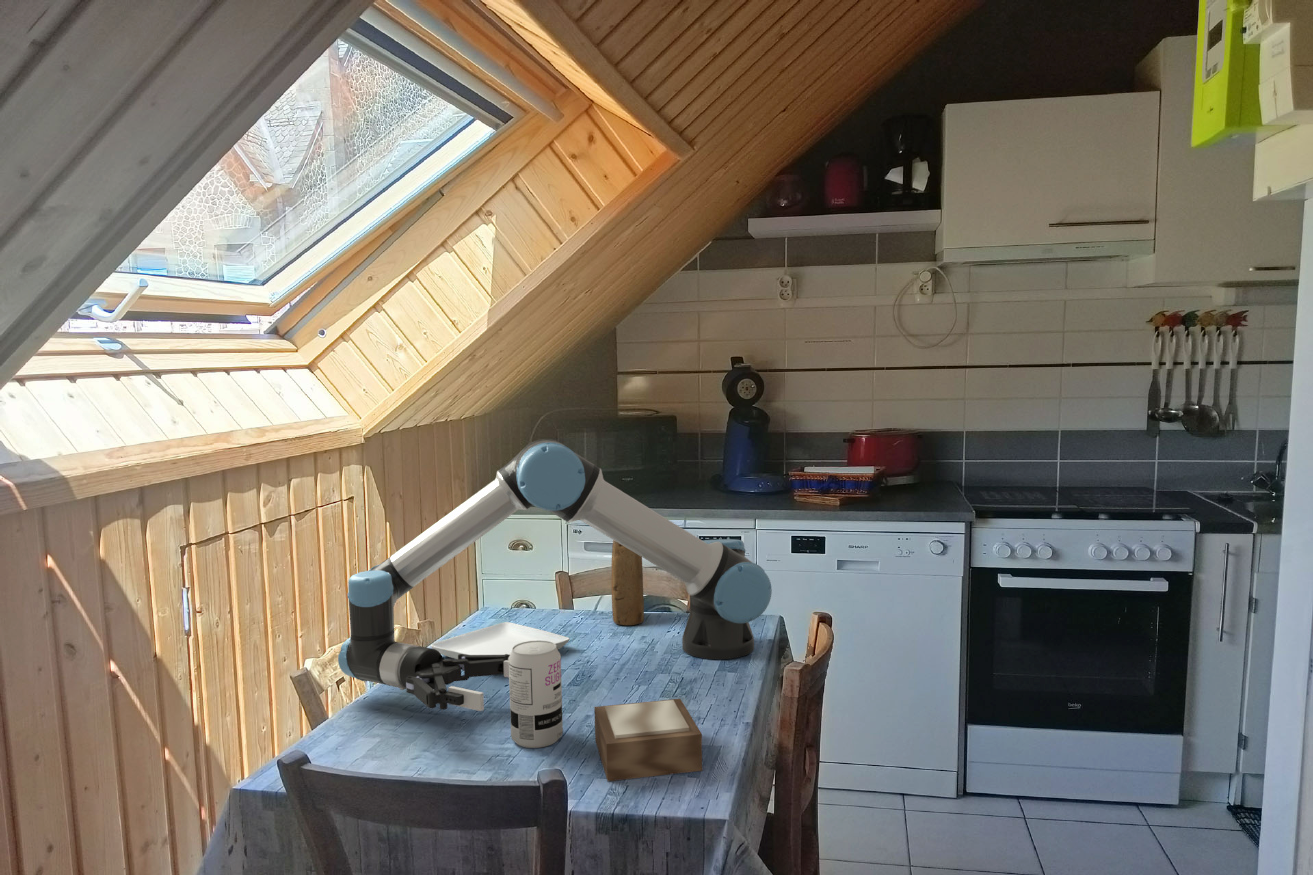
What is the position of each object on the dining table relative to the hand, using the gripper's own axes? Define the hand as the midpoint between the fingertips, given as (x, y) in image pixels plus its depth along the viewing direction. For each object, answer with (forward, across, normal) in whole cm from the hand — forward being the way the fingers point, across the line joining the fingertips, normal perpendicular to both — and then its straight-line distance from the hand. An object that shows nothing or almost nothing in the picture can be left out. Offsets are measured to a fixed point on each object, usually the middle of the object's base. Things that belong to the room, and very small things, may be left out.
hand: (510, 687), depth 138 cm
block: (-16, -63, -8) cm, 66 cm away
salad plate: (-28, -31, -8) cm, 42 cm away
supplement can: (+5, 0, -8) cm, 9 cm away
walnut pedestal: (+23, -3, -8) cm, 25 cm away
